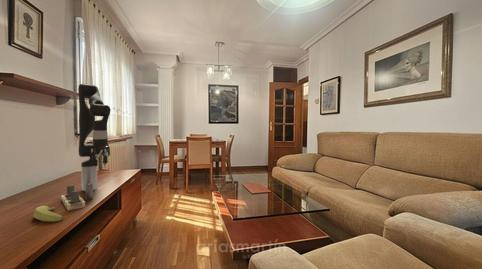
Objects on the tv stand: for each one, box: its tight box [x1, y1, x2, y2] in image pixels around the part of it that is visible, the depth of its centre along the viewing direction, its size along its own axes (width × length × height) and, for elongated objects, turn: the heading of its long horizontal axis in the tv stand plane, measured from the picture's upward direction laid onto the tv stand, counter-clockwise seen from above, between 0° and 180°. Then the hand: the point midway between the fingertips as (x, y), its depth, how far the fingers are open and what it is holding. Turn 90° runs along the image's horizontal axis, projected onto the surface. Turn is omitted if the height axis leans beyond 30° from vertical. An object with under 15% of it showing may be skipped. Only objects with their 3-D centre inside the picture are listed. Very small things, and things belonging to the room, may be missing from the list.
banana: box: [33, 205, 64, 223], centre depth 113 cm, size 14×6×20 cm
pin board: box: [61, 184, 86, 212], centre depth 131 cm, size 23×8×9 cm, turn 46°
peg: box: [85, 183, 94, 202], centre depth 137 cm, size 4×4×10 cm
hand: (100, 164), depth 132 cm, fingers open, 8 cm apart
